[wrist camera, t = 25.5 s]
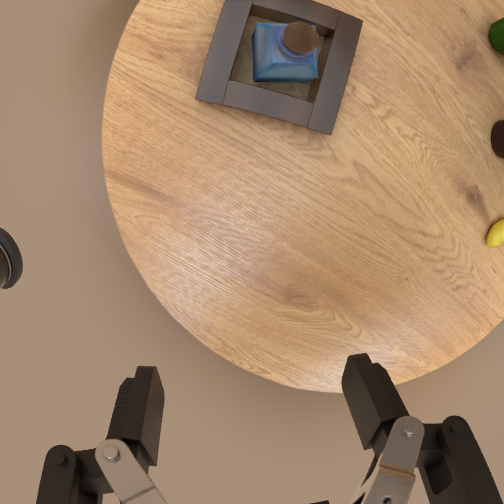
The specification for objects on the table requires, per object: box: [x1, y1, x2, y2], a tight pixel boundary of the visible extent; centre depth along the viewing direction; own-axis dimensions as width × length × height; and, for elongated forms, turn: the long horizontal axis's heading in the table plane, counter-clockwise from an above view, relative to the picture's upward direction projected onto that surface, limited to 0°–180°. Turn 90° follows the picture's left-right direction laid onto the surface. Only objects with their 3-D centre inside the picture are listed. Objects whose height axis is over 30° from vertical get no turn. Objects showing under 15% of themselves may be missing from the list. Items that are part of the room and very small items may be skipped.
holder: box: [195, 0, 363, 135], centre depth 30 cm, size 16×16×4 cm
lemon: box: [487, 219, 504, 248], centre depth 43 cm, size 4×8×4 cm, turn 122°
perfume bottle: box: [252, 21, 319, 82], centre depth 27 cm, size 6×6×12 cm
